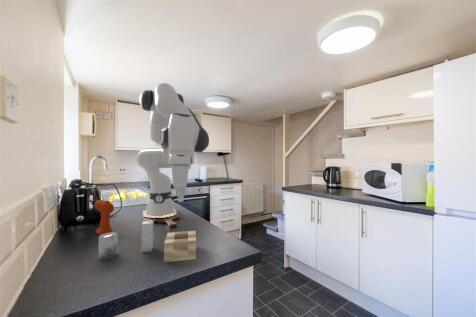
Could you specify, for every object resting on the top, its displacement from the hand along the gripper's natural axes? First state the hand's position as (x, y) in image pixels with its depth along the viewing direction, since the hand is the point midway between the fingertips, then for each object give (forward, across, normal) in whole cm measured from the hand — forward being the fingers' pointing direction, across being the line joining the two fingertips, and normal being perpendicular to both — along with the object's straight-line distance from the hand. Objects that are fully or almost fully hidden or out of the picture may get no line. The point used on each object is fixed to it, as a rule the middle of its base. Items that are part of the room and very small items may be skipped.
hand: (181, 198), depth 70 cm
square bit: (+19, -6, -12) cm, 23 cm away
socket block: (+19, 0, 0) cm, 19 cm away
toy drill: (+19, -32, -38) cm, 53 cm away
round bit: (+19, -4, -24) cm, 31 cm away
